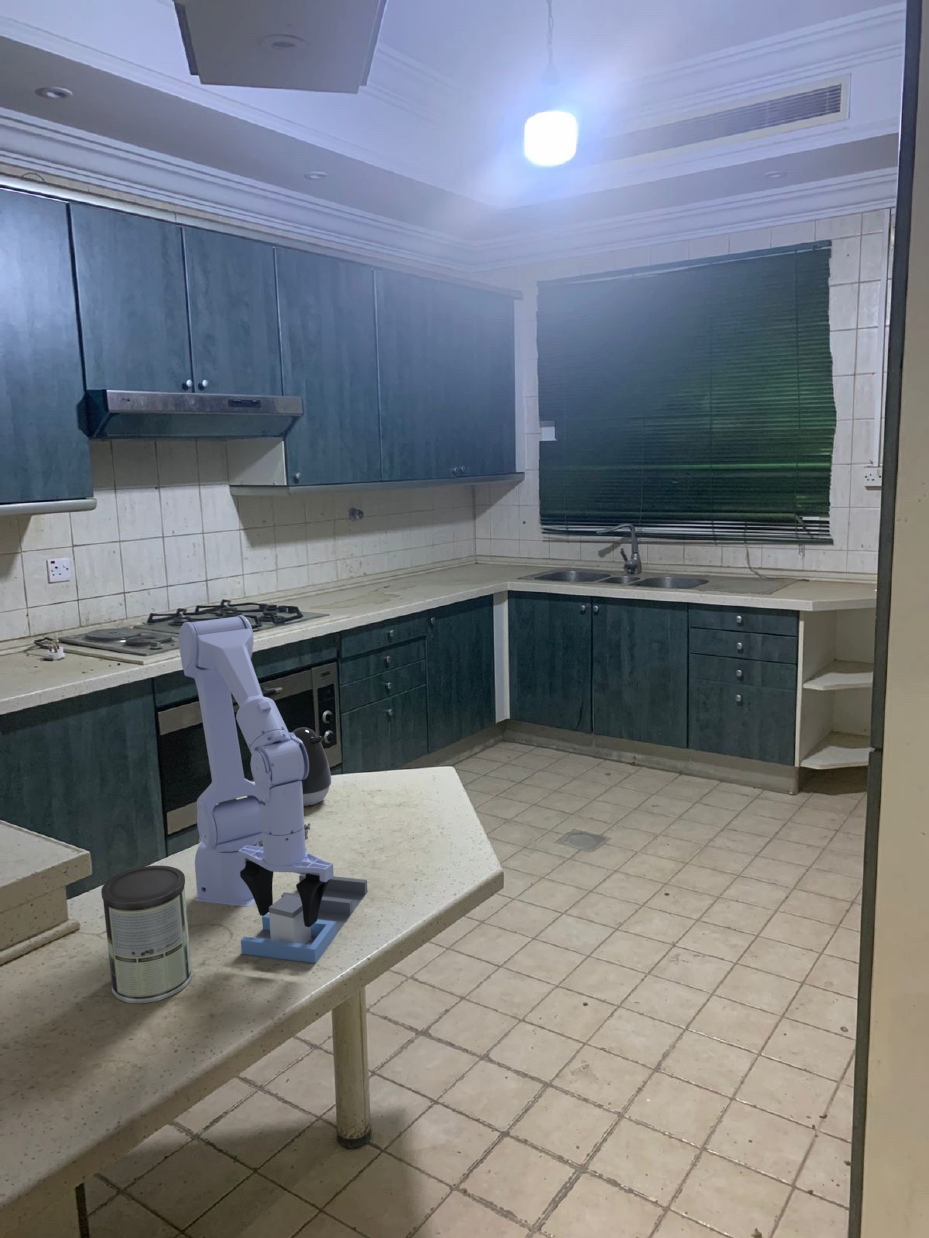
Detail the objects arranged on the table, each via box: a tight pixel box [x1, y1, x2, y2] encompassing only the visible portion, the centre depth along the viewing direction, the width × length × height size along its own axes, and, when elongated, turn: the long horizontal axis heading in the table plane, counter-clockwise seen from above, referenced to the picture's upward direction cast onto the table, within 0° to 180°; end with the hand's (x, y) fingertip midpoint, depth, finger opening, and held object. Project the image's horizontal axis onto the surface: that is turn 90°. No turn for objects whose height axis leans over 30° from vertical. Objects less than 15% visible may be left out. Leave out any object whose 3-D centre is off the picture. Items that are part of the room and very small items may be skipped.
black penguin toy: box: [292, 726, 332, 807], centre depth 180 cm, size 10×10×15 cm
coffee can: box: [100, 865, 193, 1004], centre depth 120 cm, size 10×10×14 cm
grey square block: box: [268, 895, 311, 944], centre depth 129 cm, size 4×4×6 cm
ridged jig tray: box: [240, 874, 369, 965], centre depth 135 cm, size 11×21×3 cm, turn 166°
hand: (288, 917), depth 128 cm, fingers open, 7 cm apart
